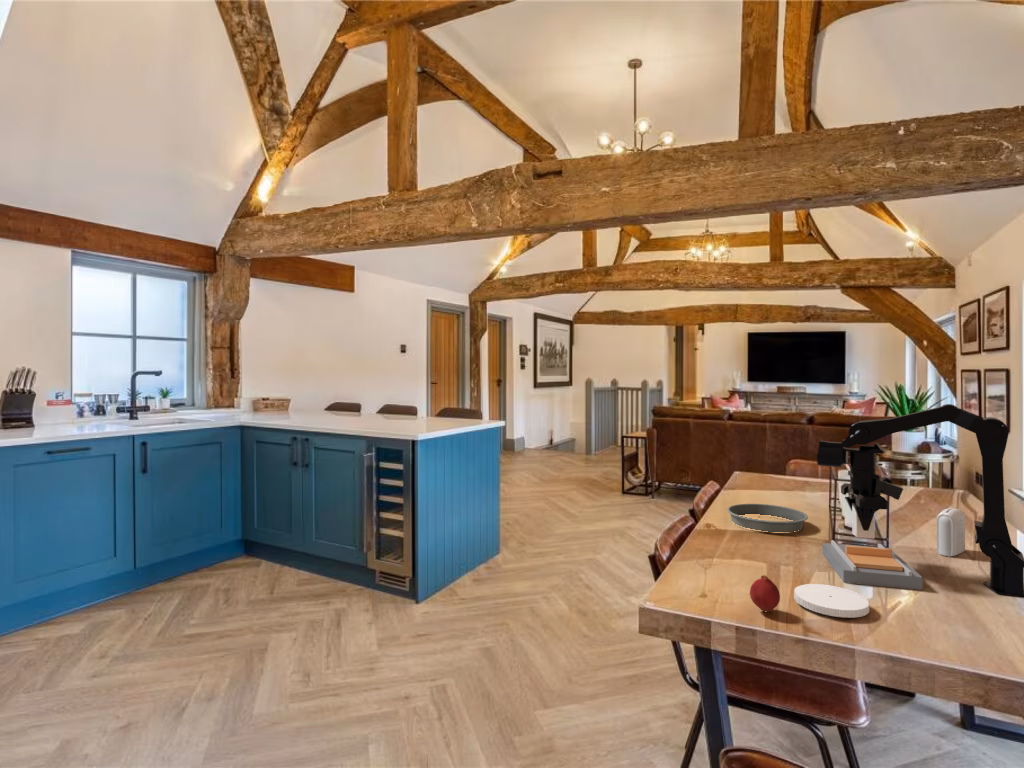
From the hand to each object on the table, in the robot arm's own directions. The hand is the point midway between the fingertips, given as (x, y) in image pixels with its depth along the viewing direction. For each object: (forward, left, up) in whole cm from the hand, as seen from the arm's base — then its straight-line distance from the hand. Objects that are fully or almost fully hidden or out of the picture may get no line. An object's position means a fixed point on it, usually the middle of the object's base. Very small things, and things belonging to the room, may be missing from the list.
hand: (863, 528), depth 141 cm
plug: (0, 0, -2) cm, 2 cm away
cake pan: (+35, +19, -10) cm, 41 cm away
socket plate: (-4, 0, -10) cm, 10 cm away
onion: (-38, +28, -10) cm, 48 cm away
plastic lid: (-31, +14, -10) cm, 36 cm away
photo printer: (+18, -26, -10) cm, 33 cm away
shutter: (-8, 0, -7) cm, 11 cm away
